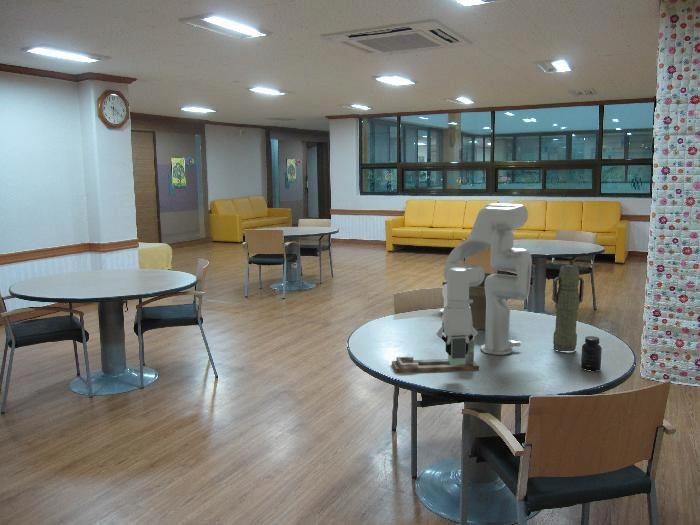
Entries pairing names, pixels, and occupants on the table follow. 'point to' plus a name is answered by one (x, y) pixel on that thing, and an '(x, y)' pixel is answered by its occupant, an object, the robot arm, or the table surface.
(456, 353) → the pale green block
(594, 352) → the supplement bottle
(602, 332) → the table surface
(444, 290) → the white rounded piece
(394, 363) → the rail
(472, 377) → the table surface
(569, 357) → the table surface
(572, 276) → the thermos
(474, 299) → the plant pot
